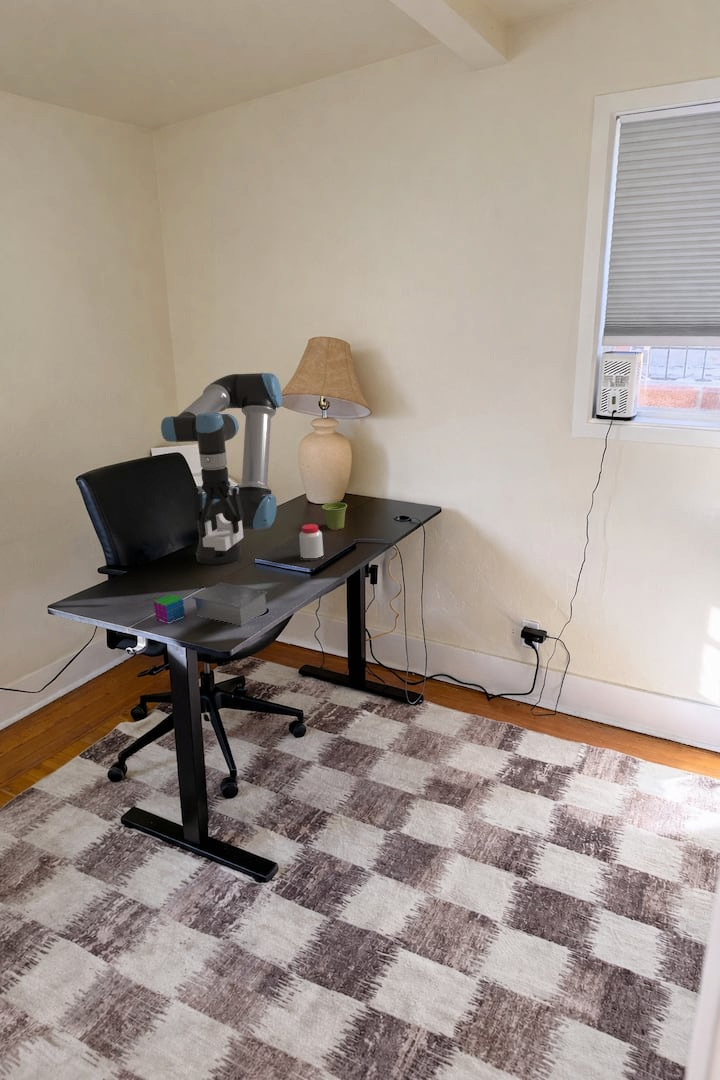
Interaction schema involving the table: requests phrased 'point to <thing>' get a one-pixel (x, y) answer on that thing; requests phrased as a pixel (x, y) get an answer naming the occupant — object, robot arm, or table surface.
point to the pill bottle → (311, 541)
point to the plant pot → (335, 515)
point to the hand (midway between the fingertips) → (222, 543)
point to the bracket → (222, 535)
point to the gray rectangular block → (230, 603)
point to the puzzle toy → (169, 608)
